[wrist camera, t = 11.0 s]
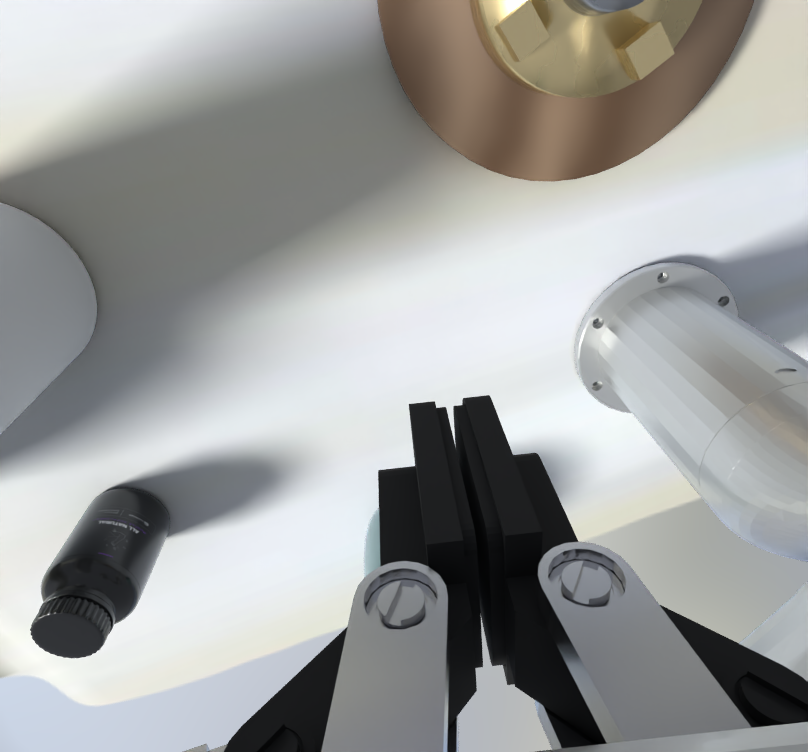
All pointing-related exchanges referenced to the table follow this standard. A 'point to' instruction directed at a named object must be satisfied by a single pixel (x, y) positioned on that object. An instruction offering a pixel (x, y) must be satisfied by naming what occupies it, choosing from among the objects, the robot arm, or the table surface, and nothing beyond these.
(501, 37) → the grey lever
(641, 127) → the lever base
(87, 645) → the supplement bottle
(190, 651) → the table surface
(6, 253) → the cylinder vase
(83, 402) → the table surface
